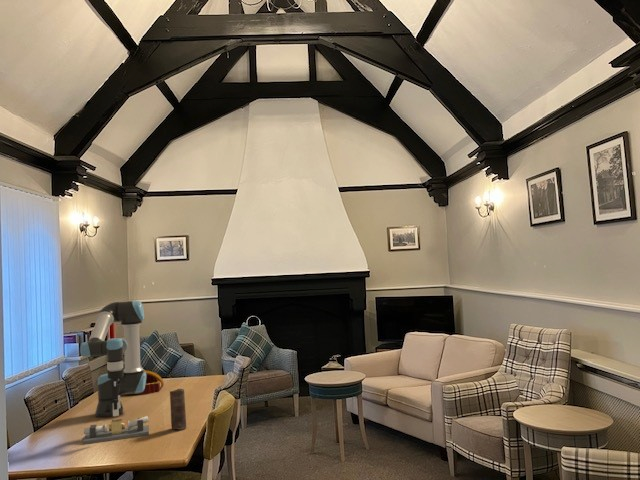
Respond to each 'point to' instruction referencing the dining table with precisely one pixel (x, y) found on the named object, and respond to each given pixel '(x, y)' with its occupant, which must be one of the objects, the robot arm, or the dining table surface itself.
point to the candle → (178, 409)
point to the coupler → (116, 426)
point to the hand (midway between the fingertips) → (116, 412)
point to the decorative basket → (151, 383)
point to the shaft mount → (101, 434)
